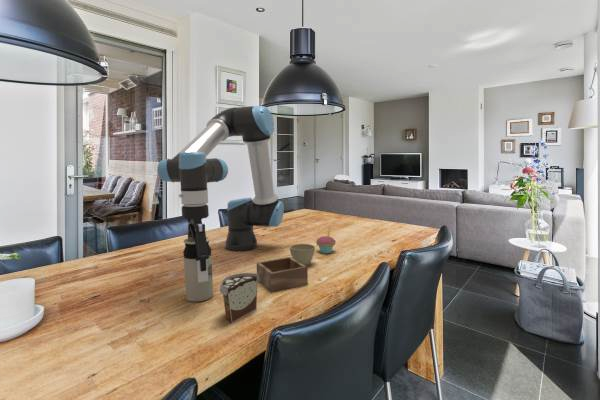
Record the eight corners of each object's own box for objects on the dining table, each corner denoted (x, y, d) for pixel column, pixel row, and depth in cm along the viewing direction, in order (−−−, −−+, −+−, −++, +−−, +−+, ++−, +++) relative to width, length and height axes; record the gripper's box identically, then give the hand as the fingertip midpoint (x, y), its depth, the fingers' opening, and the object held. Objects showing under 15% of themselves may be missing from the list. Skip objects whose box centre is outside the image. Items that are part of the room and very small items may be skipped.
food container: (244, 302, 97) (243, 269, 95) (260, 307, 93) (259, 273, 92) (211, 319, 86) (209, 282, 85) (227, 326, 83) (225, 287, 82)
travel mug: (180, 300, 99) (176, 241, 96) (197, 290, 106) (194, 235, 104) (202, 304, 96) (198, 243, 93) (218, 293, 103) (216, 237, 101)
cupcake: (337, 250, 150) (337, 224, 148) (332, 255, 142) (332, 228, 140) (319, 248, 153) (318, 223, 151) (313, 253, 145) (313, 227, 143)
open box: (257, 279, 115) (256, 262, 114) (290, 272, 121) (290, 256, 120) (271, 292, 104) (271, 273, 103) (307, 284, 110) (307, 267, 109)
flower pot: (313, 269, 125) (312, 250, 124) (287, 267, 127) (287, 249, 126) (317, 261, 134) (316, 243, 134) (293, 259, 136) (292, 243, 136)
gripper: (175, 201, 107) (179, 264, 109) (188, 211, 85) (193, 290, 87) (199, 199, 110) (202, 261, 113) (217, 209, 88) (221, 285, 91)
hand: (198, 274), depth 100 cm, fingers open, 13 cm apart
